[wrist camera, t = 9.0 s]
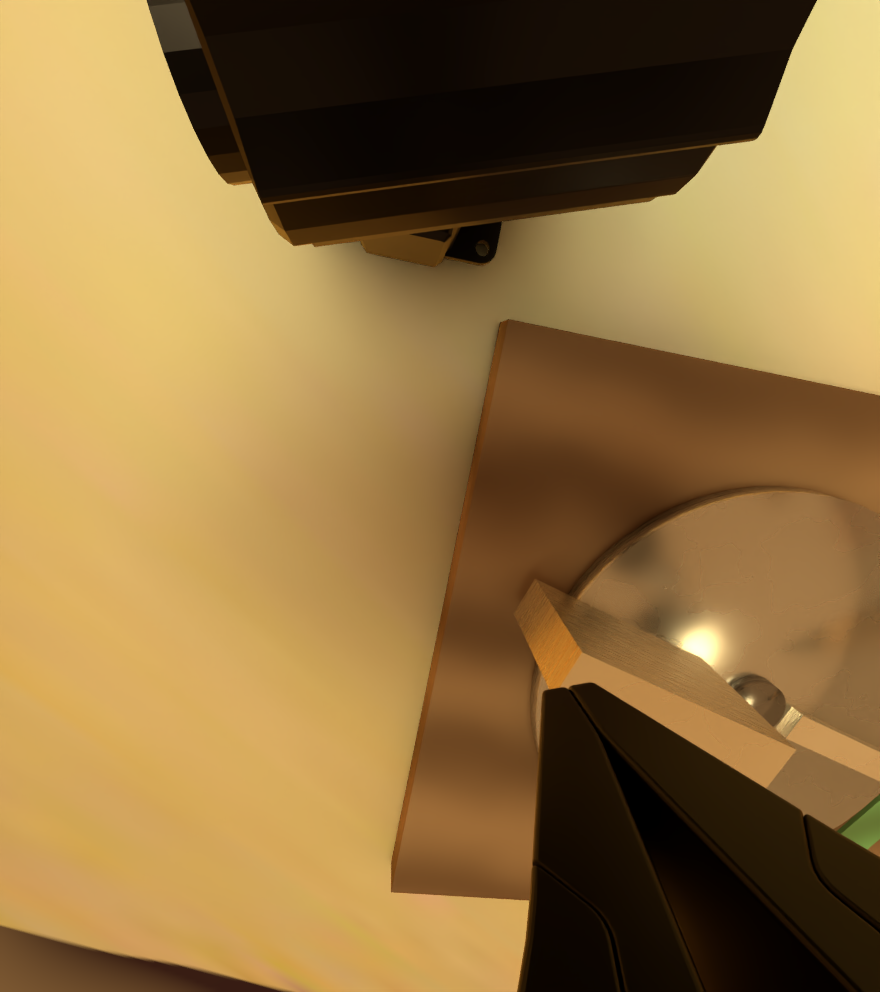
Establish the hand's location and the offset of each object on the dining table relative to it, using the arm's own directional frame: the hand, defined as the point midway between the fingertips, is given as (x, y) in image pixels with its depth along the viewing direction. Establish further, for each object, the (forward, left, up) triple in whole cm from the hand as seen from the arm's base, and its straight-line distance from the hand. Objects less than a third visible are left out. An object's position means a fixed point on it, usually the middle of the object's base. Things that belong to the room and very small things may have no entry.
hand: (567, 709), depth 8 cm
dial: (+6, +13, -11) cm, 18 cm away
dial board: (+6, +13, -13) cm, 19 cm away
